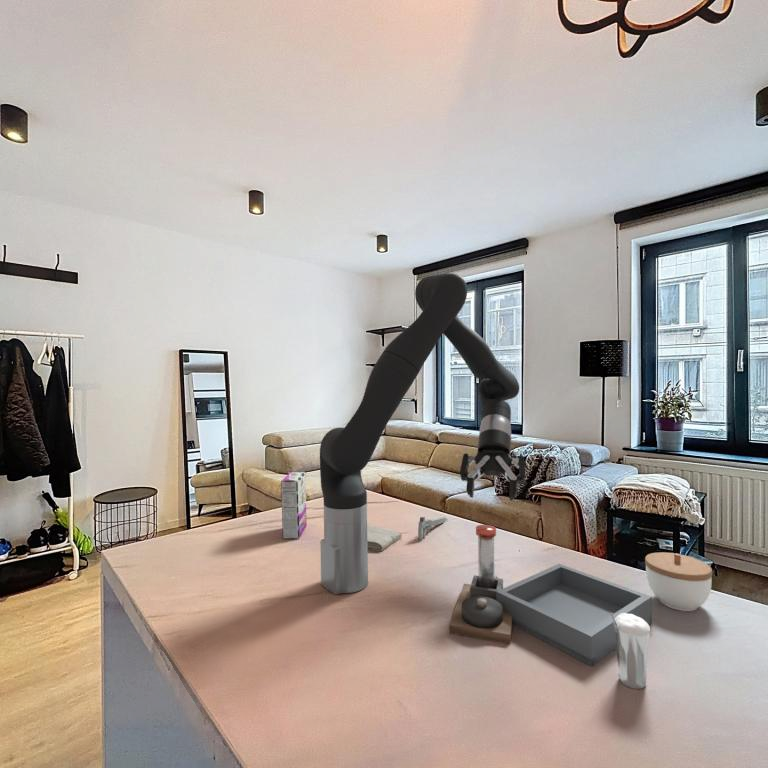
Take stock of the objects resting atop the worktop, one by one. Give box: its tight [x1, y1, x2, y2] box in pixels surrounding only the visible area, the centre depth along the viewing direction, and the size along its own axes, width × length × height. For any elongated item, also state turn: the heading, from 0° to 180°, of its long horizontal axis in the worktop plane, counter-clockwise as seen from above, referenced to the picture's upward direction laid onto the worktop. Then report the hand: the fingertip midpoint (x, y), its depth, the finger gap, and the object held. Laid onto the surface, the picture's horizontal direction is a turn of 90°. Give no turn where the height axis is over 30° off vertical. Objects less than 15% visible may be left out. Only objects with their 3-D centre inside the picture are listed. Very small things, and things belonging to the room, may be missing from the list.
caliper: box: [417, 516, 448, 541], centre depth 129 cm, size 20×1×6 cm, turn 152°
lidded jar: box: [644, 551, 713, 612], centre depth 85 cm, size 11×11×9 cm
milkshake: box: [610, 612, 651, 690], centre depth 63 cm, size 5×5×10 cm
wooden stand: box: [449, 574, 513, 644], centre depth 82 cm, size 16×10×4 cm, turn 161°
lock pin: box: [475, 524, 497, 589], centre depth 85 cm, size 4×4×13 cm
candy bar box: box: [280, 471, 307, 540], centre depth 128 cm, size 11×5×16 cm, turn 179°
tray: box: [496, 563, 653, 667], centre depth 80 cm, size 20×18×4 cm
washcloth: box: [367, 524, 403, 552], centre depth 122 cm, size 12×18×3 cm, turn 61°
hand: (490, 497), depth 96 cm, fingers open, 8 cm apart
